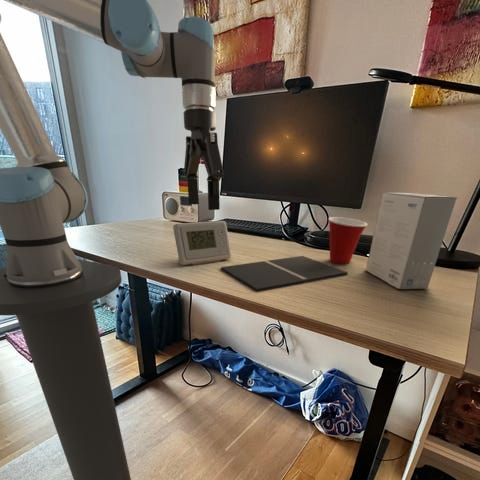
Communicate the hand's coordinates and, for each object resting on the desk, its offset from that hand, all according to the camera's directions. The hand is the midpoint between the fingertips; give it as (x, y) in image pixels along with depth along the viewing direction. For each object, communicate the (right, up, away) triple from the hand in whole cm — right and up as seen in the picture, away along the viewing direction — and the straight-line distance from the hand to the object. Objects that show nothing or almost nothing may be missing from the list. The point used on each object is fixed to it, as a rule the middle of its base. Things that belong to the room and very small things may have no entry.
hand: (203, 206), depth 80 cm
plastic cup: (+40, -13, +10) cm, 43 cm away
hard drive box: (+49, -20, -4) cm, 53 cm away
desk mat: (+21, -17, -1) cm, 28 cm away
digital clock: (-1, -13, +7) cm, 15 cm away
